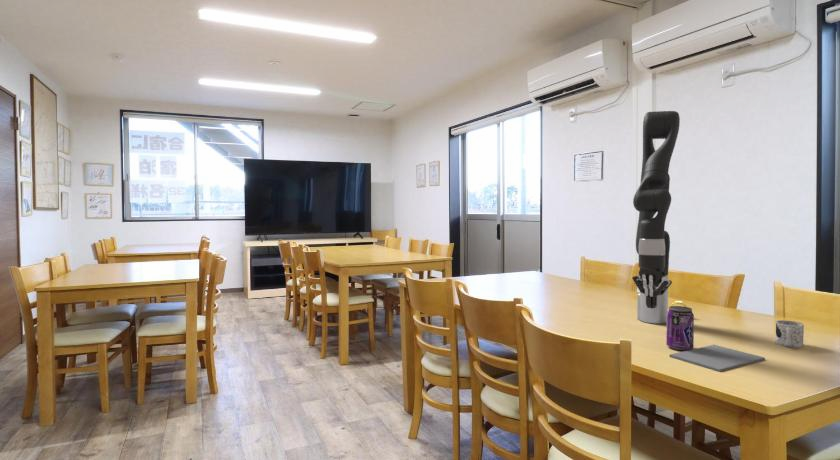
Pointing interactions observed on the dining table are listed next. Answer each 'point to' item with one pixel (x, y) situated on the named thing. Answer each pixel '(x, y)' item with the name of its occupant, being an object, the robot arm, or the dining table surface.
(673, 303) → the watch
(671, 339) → the beverage can
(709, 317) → the dining table surface
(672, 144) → the robot arm
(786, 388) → the dining table surface
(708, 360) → the mat
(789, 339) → the mug
